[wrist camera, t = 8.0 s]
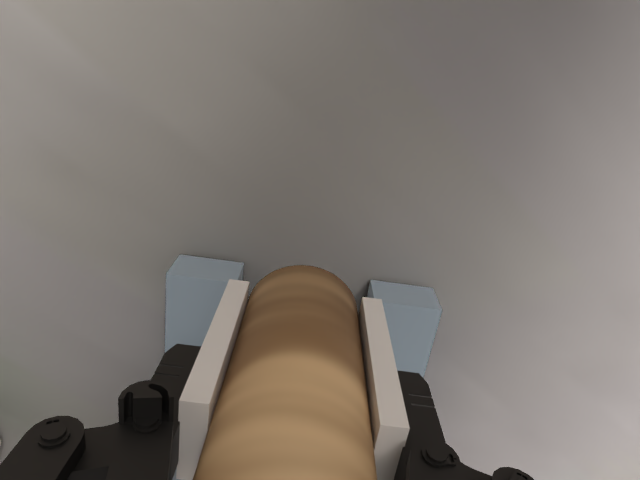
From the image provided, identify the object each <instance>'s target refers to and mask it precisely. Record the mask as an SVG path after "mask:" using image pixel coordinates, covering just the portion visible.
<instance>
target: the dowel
mask: <svg viewBox="0 0 640 480" xmlns="http://www.w3.org/2000/svg"><path fill="white" fill-rule="evenodd" d="M193 480H377V473H376V465H375V456H374V447H373V439H372V430H371V422H370V413H369V404H368V396H367V387H366V379H365V370H364V361H363V353H362V344H361V336H360V327H359V319H358V310H357V304H356V301H355V298H354V296H353V294H352V292H351V291H350V289H349V288H348V286H347V285H346V284H345V283H344V282H343V281H342V280H341V279H339V278H338V277H337V276H335V275H334V274H332V273H330V272H328V271H326V270H324V269H321V268H318V267H313V266H306V265H294V266H288V267H284V268H281V269H278V270H276V271H273V272H271V273H270V274H268V275H266V276H265V277H264V278H263V279H261V280H260V281H259V282H258V283H257V285H256V286H255V287H254V289H253V290H252V292H251V294H250V296H249V299H248V302H247V305H246V309H245V312H244V315H243V318H242V322H241V325H240V328H239V331H238V335H237V338H236V341H235V344H234V348H233V351H232V354H231V357H230V361H229V364H228V367H227V370H226V374H225V377H224V380H223V383H222V387H221V390H220V393H219V397H218V400H217V403H216V406H215V410H214V413H213V416H212V419H211V423H210V426H209V429H208V432H207V435H206V438H205V442H204V445H203V448H202V451H201V455H200V458H199V461H198V464H197V468H196V471H195V474H194V477H193Z"/></svg>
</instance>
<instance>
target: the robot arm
mask: <svg viewBox="0 0 640 480" xmlns="http://www.w3.org/2000/svg"><path fill="white" fill-rule="evenodd" d="M248 291H249V282H248V281H241V280H233V279H229V281H228V284H227V286H226V289H225V291H224V293H223V296H222V298H221V301H220V303H219V305H218V308H217V310H216V313H215V315H214V317H213V320H212V322H211V325H210V327H209V330H208V332H207V334H206V337H205V339H204V342H203V344H202V346H193V345H185V344H176V345H174V346H173V347H172V348H170V349H169V350H168V351H167V352H165V354H164V356H163V358H162V360H161V362H160V364H159V366H158V367H157V369H156V371H155V374H154V375H153V377H152V379H151V380H148V381H141V382H137V383H135V384H133V385H130V386H129V387H127V388H126V389H125V390H124V391H122V393H121V395H120V397H119V398H118V406H119V422H118V423H115V424H112V425H108V426H104V427H96V428H89V429H84V426H83V424H82V423H81V422H80V421H79V420H78V419H77V418H73V417H70V416H56V417H52V418H48V419H45V420H43V421H41V422H39V423H37V424H35V425H34V426H33V427H32V428H31V429H30V430H29V431H27V432H26V434H25V435H24V436H23V437H22V439H21V440H20V441H19V442H18V444H17V445H16V446H15V447H14V449H13V450H12V451H11V452H10V454H9V455H8V456H7V457H6V459H5V460H4V461H3V462H2V463H1V465H0V480H172V479H173V476H174V473H175V470H176V468H177V472H176V479H180V480H193V477H194V474H195V471H196V468H197V464H198V461H199V458H200V455H201V451H202V448H203V445H204V442H205V438H206V435H207V432H208V429H209V426H210V423H211V419H212V416H213V413H214V410H215V406H216V403H217V400H218V397H219V393H220V390H221V387H222V383H223V380H224V377H225V374H226V370H227V367H228V364H229V361H230V357H231V354H232V351H233V348H234V344H235V341H236V338H237V335H238V331H239V328H240V325H241V322H242V318H243V315H244V312H245V309H246V305H247V301H248ZM358 319H359V327H360V336H361V344H362V353H363V361H364V370H365V379H366V387H367V396H368V404H369V413H370V422H371V430H372V439H373V447H374V456H375V465H376V473H377V480H534V479H533V478H532V477H530V476H529V475H528V474H526V473H524V472H522V471H520V470H518V469H515V468H511V467H502V468H499V469H497V470H496V471H494V473H493V476H490V475H487V474H484V473H482V472H479V471H477V470H474V469H472V468H470V467H468V466H466V465H464V464H463V463H461V462H460V460H459V456H458V455H457V454H456V452H455V451H454V450H453V449H452V448H451V447H450V446H448V445H447V444H446V443H445V439H444V436H443V433H442V429H441V426H440V423H439V419H438V416H437V413H436V409H435V408H434V402H433V399H432V398H431V397H432V396H431V392H430V389H429V386H428V384H427V382H426V381H425V380H424V379H423V378H422V376H421V375H420V374H419V373H414V372H406V371H398V370H397V367H396V363H395V358H394V354H393V349H392V344H391V340H390V335H389V331H388V326H387V321H386V317H385V312H384V308H383V303H382V299H376V298H368V297H362V301H361V305H360V310H359V315H358Z"/></svg>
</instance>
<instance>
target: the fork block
mask: <svg viewBox="0 0 640 480" xmlns="http://www.w3.org/2000/svg"><path fill="white" fill-rule="evenodd" d="M243 270H244V263H241V262H234V261H226V260H219V259H211V258H204V257H196V256H189V255H181V254H180V255H179V256H178V258H177V259H176V260H175V262H174V263H173V265H172V266H171V268H170V269H169V270H168V272H167V273H166V311H165V352H167V351H168V350H169V349H170V348H172V347H173V346H174V345H176V344H185V345H193V346H202V344H203V342H204V339H205V337H206V334H207V332H208V330H209V327H210V325H211V322H212V320H213V317H214V315H215V313H216V310H217V308H218V305H219V303H220V301H221V298H222V296H223V293H224V291H225V289H226V286H227V284H228V281H229V279H233V280H241V281H243ZM367 297H368V298H376V299H382V303H383V308H384V312H385V317H386V321H387V326H388V331H389V335H390V340H391V344H392V349H393V354H394V358H395V363H396V367H397V370H398V371H406V372H414V373H419V374H420V375H421V376H422V378H423V377H424V374H425V370H426V367H427V363H428V359H429V356H430V352H431V349H432V345H433V342H434V338H435V335H436V331H437V328H438V324H439V321H440V317H441V313H442V308H441V306H440V303H439V301H438V299H437V296H436V294H435V292H434V289H433V288H429V287H422V286H414V285H407V284H399V283H392V282H384V281H377V280H370V285H369V290H368V295H367ZM176 472H177V468H176V470H175V473H174V476H173V479H172V480H180V479H176Z"/></svg>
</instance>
